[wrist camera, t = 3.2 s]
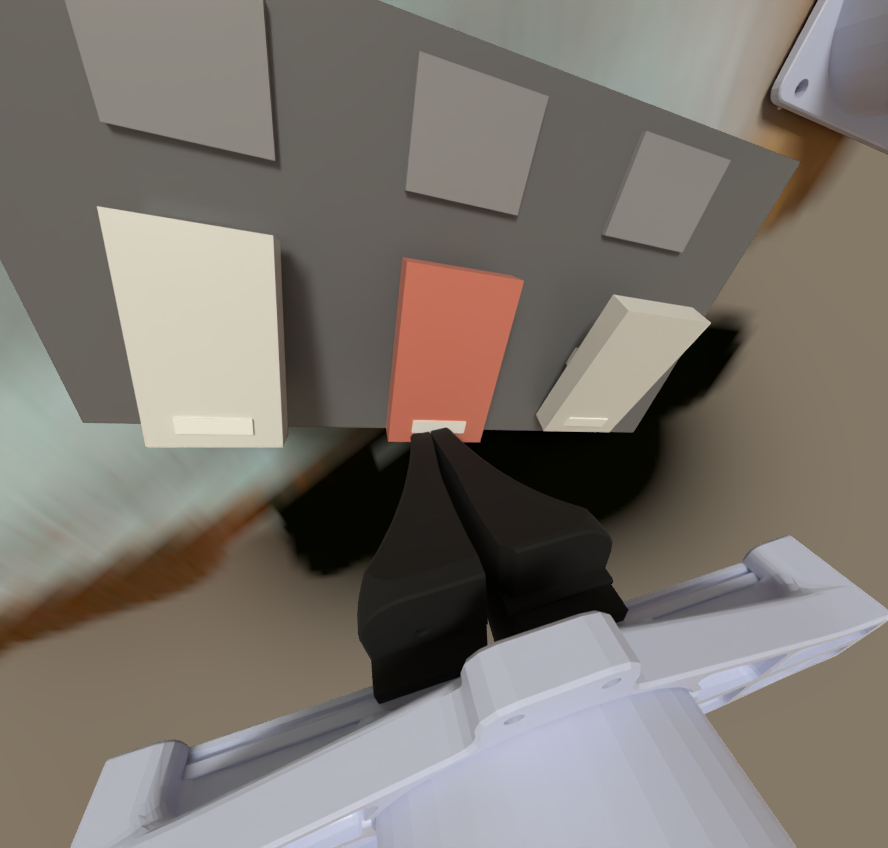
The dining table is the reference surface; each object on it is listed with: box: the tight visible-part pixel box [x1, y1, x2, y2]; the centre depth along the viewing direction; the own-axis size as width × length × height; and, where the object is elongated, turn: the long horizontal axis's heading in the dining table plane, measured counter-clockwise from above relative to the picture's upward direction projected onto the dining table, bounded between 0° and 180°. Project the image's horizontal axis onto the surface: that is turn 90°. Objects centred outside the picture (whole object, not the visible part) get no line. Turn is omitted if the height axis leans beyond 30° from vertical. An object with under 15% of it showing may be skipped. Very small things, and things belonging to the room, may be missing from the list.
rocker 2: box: [536, 295, 711, 432], centre depth 14 cm, size 4×6×2 cm, turn 169°
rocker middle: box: [386, 257, 524, 442], centre depth 12 cm, size 4×6×2 cm, turn 169°
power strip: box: [0, 0, 800, 432], centre depth 12 cm, size 30×12×3 cm, turn 79°
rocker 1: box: [97, 206, 288, 447], centre depth 10 cm, size 4×6×2 cm, turn 169°
